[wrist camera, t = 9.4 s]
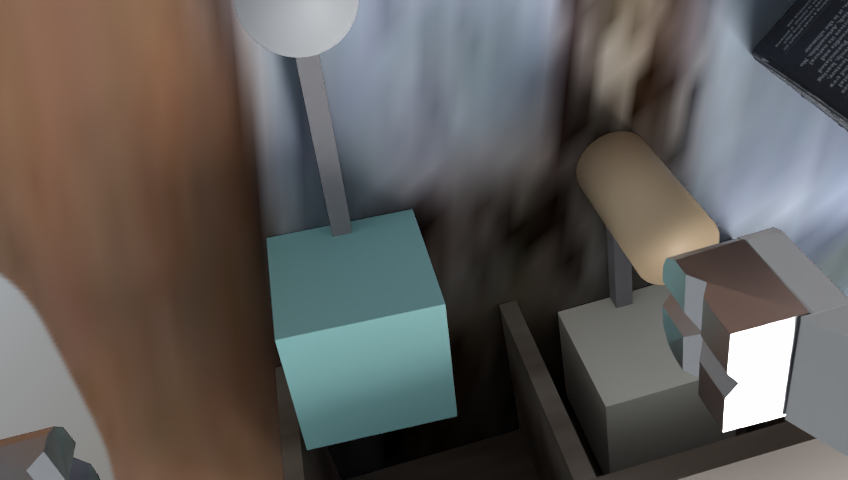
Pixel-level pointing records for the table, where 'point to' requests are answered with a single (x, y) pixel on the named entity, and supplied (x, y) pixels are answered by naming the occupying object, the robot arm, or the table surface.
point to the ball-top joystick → (349, 274)
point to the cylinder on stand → (635, 313)
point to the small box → (812, 54)
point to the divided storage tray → (571, 441)
